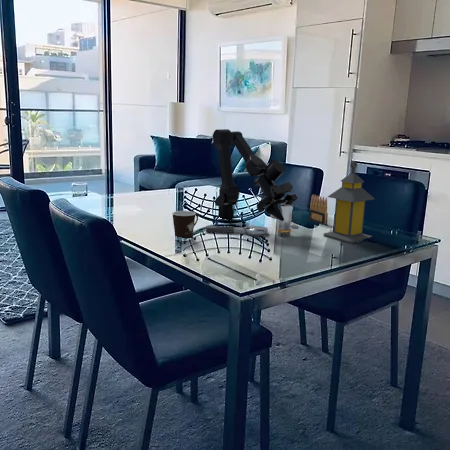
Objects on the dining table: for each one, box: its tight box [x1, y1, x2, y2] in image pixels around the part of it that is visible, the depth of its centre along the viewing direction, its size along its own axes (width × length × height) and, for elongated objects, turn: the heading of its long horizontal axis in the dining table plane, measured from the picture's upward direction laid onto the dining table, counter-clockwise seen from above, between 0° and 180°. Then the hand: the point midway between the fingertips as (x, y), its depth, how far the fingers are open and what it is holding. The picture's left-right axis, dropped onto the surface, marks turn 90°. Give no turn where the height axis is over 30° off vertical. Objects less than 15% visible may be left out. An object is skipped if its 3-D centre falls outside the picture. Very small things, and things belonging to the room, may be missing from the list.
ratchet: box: [205, 225, 269, 237], centre depth 197 cm, size 24×9×2 cm, turn 86°
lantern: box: [323, 160, 375, 244], centre depth 192 cm, size 14×14×30 cm
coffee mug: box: [172, 210, 199, 239], centre depth 186 cm, size 12×9×10 cm
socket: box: [277, 204, 293, 238], centre depth 194 cm, size 5×5×12 cm
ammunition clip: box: [308, 194, 329, 226], centre depth 218 cm, size 11×2×12 cm, turn 30°
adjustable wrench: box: [270, 214, 298, 229], centre depth 219 cm, size 25×6×2 cm, turn 10°
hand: (287, 219), depth 193 cm, fingers closed on socket, 5 cm apart
